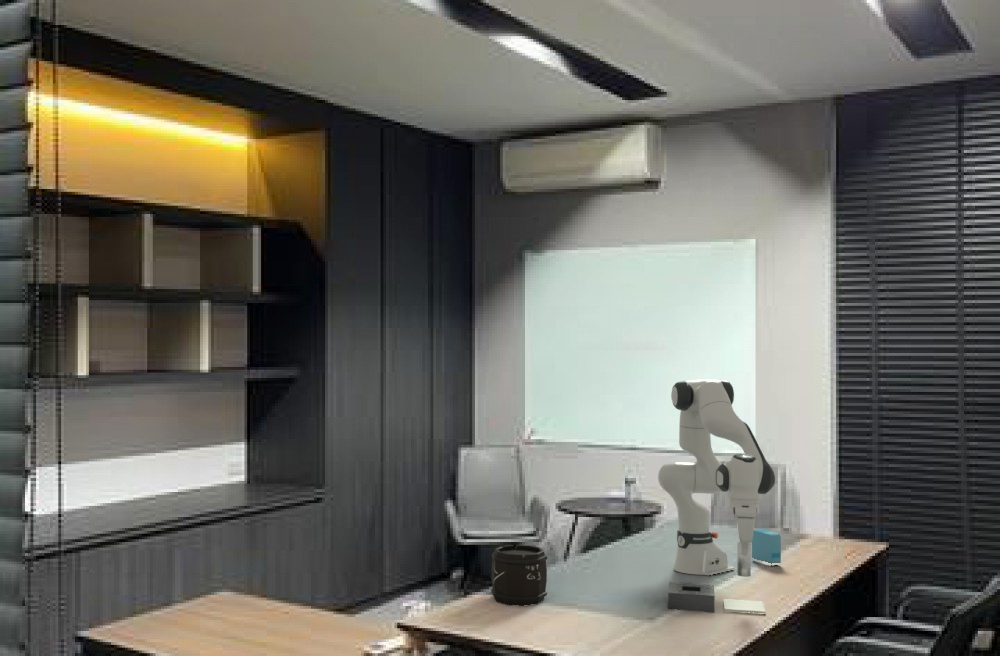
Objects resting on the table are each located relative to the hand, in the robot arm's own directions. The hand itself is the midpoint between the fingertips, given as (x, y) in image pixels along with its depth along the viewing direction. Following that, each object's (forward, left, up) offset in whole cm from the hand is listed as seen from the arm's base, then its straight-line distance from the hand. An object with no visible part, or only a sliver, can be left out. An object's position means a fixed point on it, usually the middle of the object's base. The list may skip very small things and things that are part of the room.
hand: (744, 552), depth 288 cm
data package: (-53, -44, -18) cm, 71 cm away
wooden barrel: (+58, -40, -18) cm, 73 cm away
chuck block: (+12, -11, -17) cm, 24 cm away
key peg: (0, 0, -7) cm, 7 cm away
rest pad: (0, 0, -17) cm, 17 cm away
